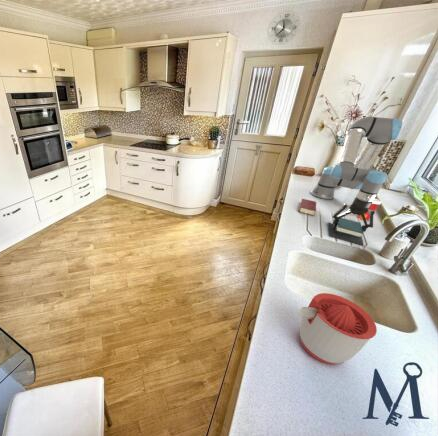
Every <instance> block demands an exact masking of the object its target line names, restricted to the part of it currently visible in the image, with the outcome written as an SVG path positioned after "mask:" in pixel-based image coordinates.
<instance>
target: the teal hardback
mask: <svg viewBox="0 0 438 436" xmlns="http://www.w3.org/2000/svg"><path fill="white" fill-rule="evenodd" d="M336 231H338V232H342V233H345V234H349V235H352V236H356V237H360V238H361V237H362V235H363V234H364V232H363V230H362V223H361V222H359V221H356V220H352V219H347V218H344V217H342V218H340V219H339V222H338V223H337V225H336Z"/></svg>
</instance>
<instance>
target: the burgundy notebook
mask: <svg viewBox="0 0 438 436" xmlns="http://www.w3.org/2000/svg"><path fill="white" fill-rule="evenodd" d="M316 211H317V201H314V200H311V199H306V198H301V201H300V202H299V208H298V213H301V214H305V215H308V216H313V217H314V215H315V213H316Z"/></svg>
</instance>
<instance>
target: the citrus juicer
mask: <svg viewBox="0 0 438 436" xmlns="http://www.w3.org/2000/svg"><path fill="white" fill-rule="evenodd" d="M299 316H300V318H302V319H301V322H300V325H299V332H298V333H299V334H298V335H299V341H300V344H301V346H302V347H303V349H304V350H305V351H306V352H307V354H309V356H311V357H312V358H313V359H315V360H316V361H318V362H320V363H323V364H326V365H339V364H342V363H344V362H347V361H349V360H351V359H352V358H354V357H355V356H356V355H357V354H358V353H359V352H360V351H361V350H362V349H363V348H364V346H365V345H366V344H367V343H368V342H369V341H370V340H371V339H372V338H374V337H376V335H377V330H378V329H377V325H376V323H375V321H374V319H373V317H371V315H369V313H367V312H366V310H364V309H363V308H362V307H361V306H359V305H358V304H356V303H355V302H353V301H351V300H349V299H348V298H345V297H343V296H341V295H337V294H334V293H328V292H322V293H321V292H320V293H317V294H316V295H314V296H313V297H312V298H311V301H310V302H309V304H308V306H302V307H301V308H300V310H299Z"/></svg>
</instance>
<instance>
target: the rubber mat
mask: <svg viewBox="0 0 438 436" xmlns="http://www.w3.org/2000/svg"><path fill="white" fill-rule="evenodd" d="M333 225H334V224H333V222H332V223H331V222H328V236H329V237H331V238H335V239H338V240H342V241H345V242H348V243H352V244H355V245H359V246H363V247H364V241H363V237H362V236H361V238H360V237H356V236H352V235H349V234H345V233H342V232H338V231H336V227H335V229H334V230H333V229H332V227H333Z"/></svg>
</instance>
